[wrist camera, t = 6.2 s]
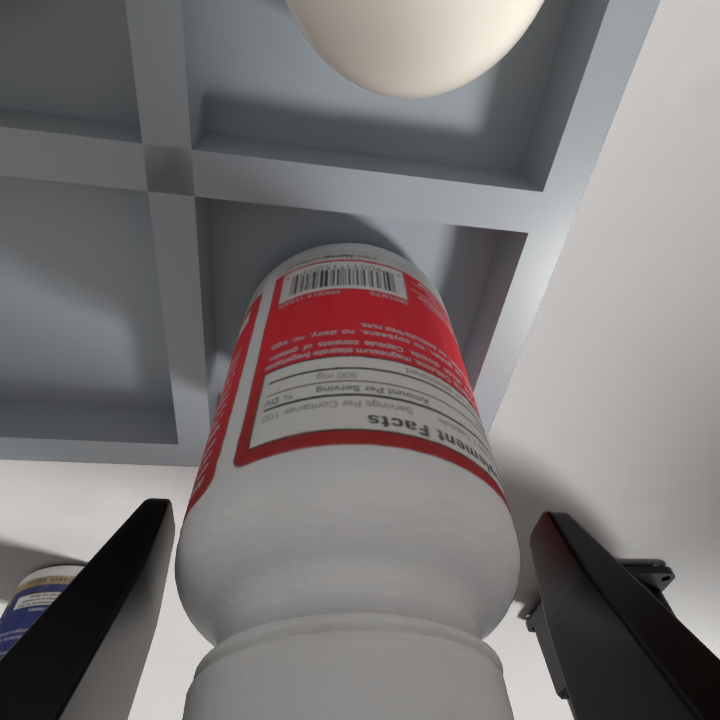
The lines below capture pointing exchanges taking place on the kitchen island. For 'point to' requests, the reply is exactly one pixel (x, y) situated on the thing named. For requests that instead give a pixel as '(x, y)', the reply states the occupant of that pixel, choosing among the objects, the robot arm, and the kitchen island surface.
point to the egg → (412, 40)
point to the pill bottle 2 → (347, 509)
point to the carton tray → (261, 199)
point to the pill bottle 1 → (32, 601)
